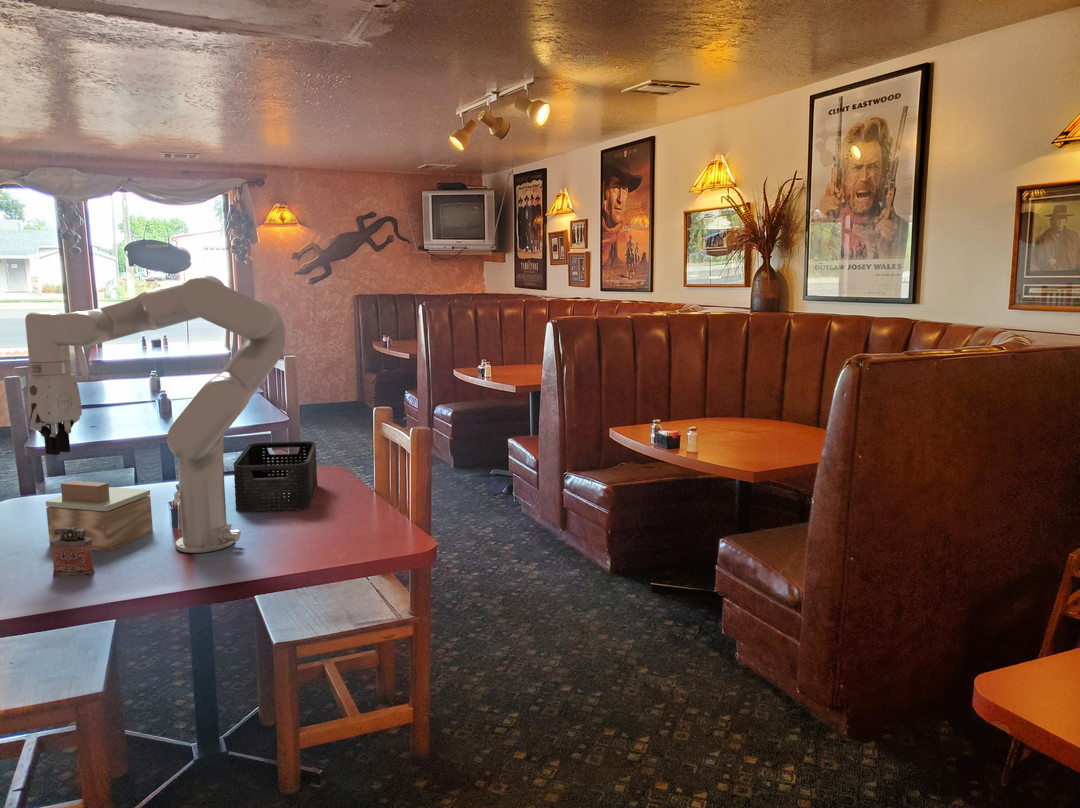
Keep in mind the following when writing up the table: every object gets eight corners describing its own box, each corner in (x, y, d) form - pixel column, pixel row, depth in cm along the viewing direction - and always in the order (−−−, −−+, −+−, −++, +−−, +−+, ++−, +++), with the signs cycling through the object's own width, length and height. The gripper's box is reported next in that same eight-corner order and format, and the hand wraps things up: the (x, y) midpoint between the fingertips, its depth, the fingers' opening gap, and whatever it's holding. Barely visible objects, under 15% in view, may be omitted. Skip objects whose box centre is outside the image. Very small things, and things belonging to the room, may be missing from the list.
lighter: (98, 570, 162) (94, 525, 160) (89, 577, 158) (85, 530, 157) (59, 571, 161) (55, 525, 160) (49, 577, 158) (45, 530, 156)
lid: (150, 494, 186) (148, 474, 185) (106, 511, 172) (104, 488, 171) (93, 490, 189) (91, 470, 188) (46, 506, 175) (44, 484, 174)
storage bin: (309, 511, 206) (307, 462, 204) (233, 514, 202) (230, 464, 200) (318, 483, 234) (317, 440, 232) (251, 486, 230) (249, 442, 228)
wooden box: (152, 531, 187) (150, 496, 186) (109, 551, 173) (106, 512, 172) (96, 527, 190) (93, 491, 189) (49, 545, 177) (46, 507, 175)
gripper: (34, 374, 157) (42, 462, 160) (94, 366, 172) (100, 446, 175) (3, 372, 158) (12, 460, 161) (65, 365, 174) (72, 444, 177)
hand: (58, 452), depth 168 cm, fingers closed
